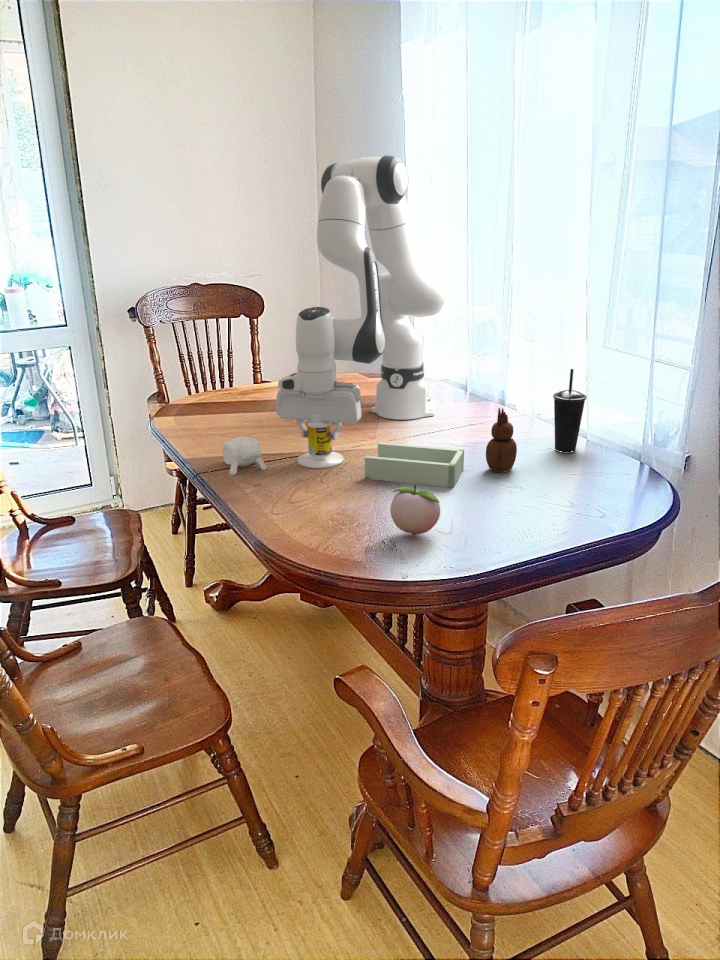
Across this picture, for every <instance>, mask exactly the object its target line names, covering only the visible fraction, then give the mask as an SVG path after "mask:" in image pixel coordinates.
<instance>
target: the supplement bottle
mask: <svg viewBox="0 0 720 960" xmlns="http://www.w3.org/2000/svg"><path fill="white" fill-rule="evenodd" d="M306 428H307V429H308V438H307V442H308V443H307V445H308V452H309V455H310V456H312V457H318V458H321V457H327V456H329V455H330V454H331V453H332V452H333V449H332V447H333V446H332V441H333V440H330V439H329V437H330V436H329V433H330V432H331V431H332V422H324V421H320V418H319V415H313V418H312V420H307V425H306Z"/></svg>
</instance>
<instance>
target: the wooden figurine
mask: <svg viewBox="0 0 720 960" xmlns="http://www.w3.org/2000/svg"><path fill="white" fill-rule="evenodd" d="M490 432H491V436H492V439H490V440H489V441H488V443H487V445H486V447H485V460H486V464H487V466H488V468H489V469H490V470H491V471H492V472H495V473H506V472H509V471H510V470H511V469H512V468H513V467H514V464H515V462H516V458H517V451H518V450H517V449H518V446H517V443H516V441H515V440H514V438H512V437H513V434H514V426H513V424H512V423H511V422H509V417H508V414H507V412H505V411H504V408H502V409H501V407H498V409H497V421H496V422H494V423H493V425H492V426H491V431H490Z"/></svg>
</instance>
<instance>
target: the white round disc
mask: <svg viewBox="0 0 720 960" xmlns="http://www.w3.org/2000/svg"><path fill="white" fill-rule="evenodd" d="M342 463H344V456H343V454H341V453H339V452H336V451H332V453H331V454H330V455H329V456H327V457H321V458H318V457H312V456H310V455H309V451H308V452H306V453H305V452H304V453H303V454H301V455H299V456H298V457H297V464H298V465H299V466H301V467H303V468H307V469H313V470H314V469H319V470H320V469H321V470H322V469H330V468H334V466H335V467H337V465H338V466H340V465H341V464H342Z"/></svg>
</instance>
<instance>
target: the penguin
mask: <svg viewBox="0 0 720 960" xmlns="http://www.w3.org/2000/svg"><path fill="white" fill-rule="evenodd" d="M261 450H262V449H261V444H260V443H259V441H258V439H255V438H252V437H236V438H233V439H230V440H229V441H226V442H224V443H223V444H222V455H223V460H224V463H226V465H230V469H229V475H231V476H236V474H237V473H238V467H242V468H243V467H247V466H250V465H252V464H255V465H257V466H258V468H259V469H260V470H262V471H265V470H267V468H268V467H267V464H266V463H265V462H264V460H263V459H262V457H261V454H262V451H261Z"/></svg>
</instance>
